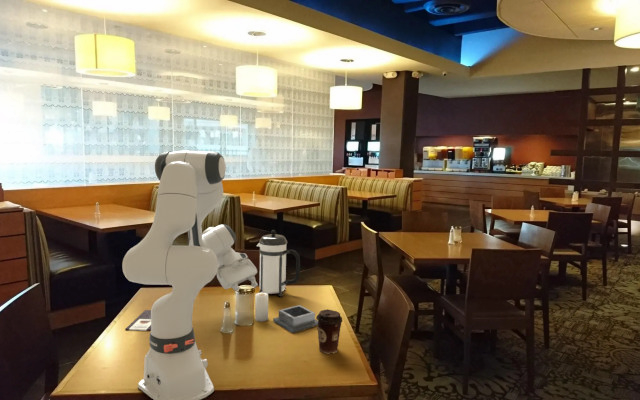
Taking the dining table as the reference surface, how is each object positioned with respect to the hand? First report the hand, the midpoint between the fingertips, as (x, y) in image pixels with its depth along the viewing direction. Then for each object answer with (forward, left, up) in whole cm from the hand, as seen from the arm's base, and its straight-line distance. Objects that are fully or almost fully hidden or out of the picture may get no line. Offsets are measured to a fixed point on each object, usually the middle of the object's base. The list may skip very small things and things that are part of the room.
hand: (249, 289), depth 167 cm
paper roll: (-5, -3, -11) cm, 12 cm away
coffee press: (+18, -24, -11) cm, 32 cm away
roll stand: (-16, -12, -11) cm, 23 cm away
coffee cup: (-40, -8, -11) cm, 42 cm away
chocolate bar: (+18, +34, -12) cm, 40 cm away
